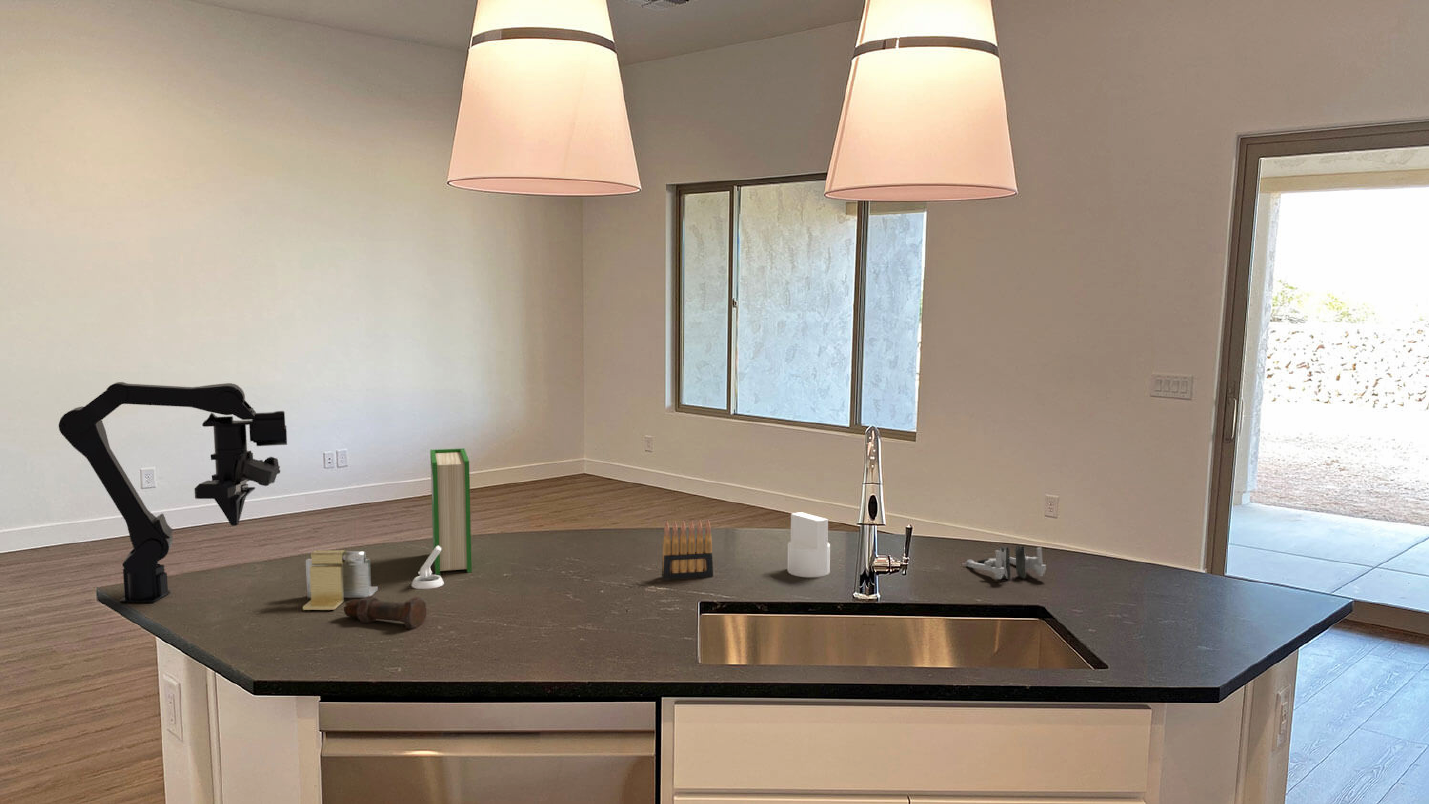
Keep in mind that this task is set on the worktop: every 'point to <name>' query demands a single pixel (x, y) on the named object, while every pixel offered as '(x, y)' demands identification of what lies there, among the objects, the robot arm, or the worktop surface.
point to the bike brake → (1003, 561)
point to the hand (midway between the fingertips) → (234, 525)
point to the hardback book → (451, 509)
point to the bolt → (388, 611)
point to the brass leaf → (326, 580)
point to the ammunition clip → (687, 553)
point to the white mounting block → (351, 575)
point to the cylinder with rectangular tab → (808, 546)
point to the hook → (428, 573)
